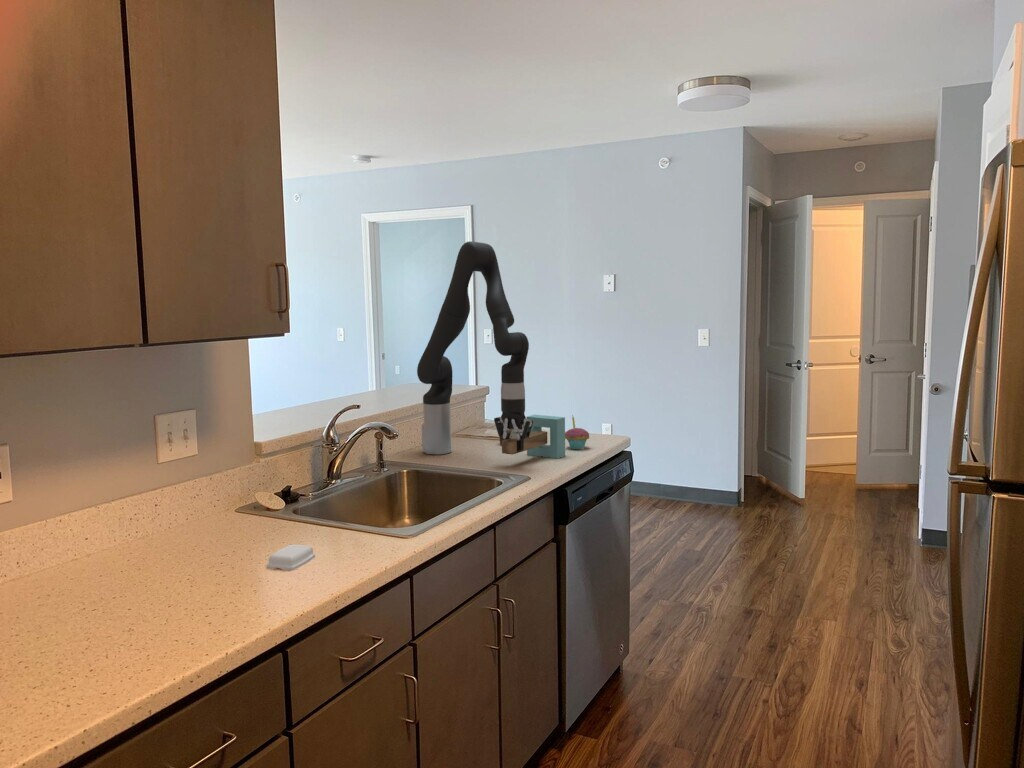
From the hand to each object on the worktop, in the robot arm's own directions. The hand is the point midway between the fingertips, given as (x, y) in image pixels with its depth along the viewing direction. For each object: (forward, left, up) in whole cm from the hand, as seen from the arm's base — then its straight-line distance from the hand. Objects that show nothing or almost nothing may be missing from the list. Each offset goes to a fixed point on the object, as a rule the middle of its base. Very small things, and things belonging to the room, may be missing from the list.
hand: (513, 450), depth 236 cm
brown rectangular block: (0, +6, 0) cm, 6 cm away
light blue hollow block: (0, +19, -5) cm, 19 cm away
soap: (+10, -95, -6) cm, 95 cm away
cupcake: (+3, +34, -5) cm, 35 cm away
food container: (-19, +28, -5) cm, 34 cm away
